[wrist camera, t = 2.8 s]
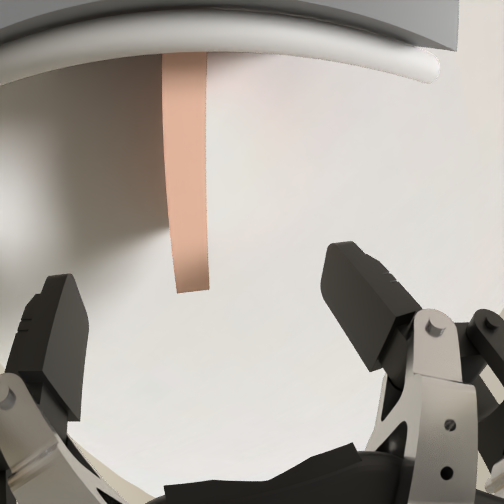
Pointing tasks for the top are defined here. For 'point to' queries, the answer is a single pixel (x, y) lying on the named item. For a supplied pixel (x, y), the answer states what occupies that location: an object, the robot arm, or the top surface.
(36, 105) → the top surface
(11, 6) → the dispenser
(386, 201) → the top surface
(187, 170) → the ticket strip
